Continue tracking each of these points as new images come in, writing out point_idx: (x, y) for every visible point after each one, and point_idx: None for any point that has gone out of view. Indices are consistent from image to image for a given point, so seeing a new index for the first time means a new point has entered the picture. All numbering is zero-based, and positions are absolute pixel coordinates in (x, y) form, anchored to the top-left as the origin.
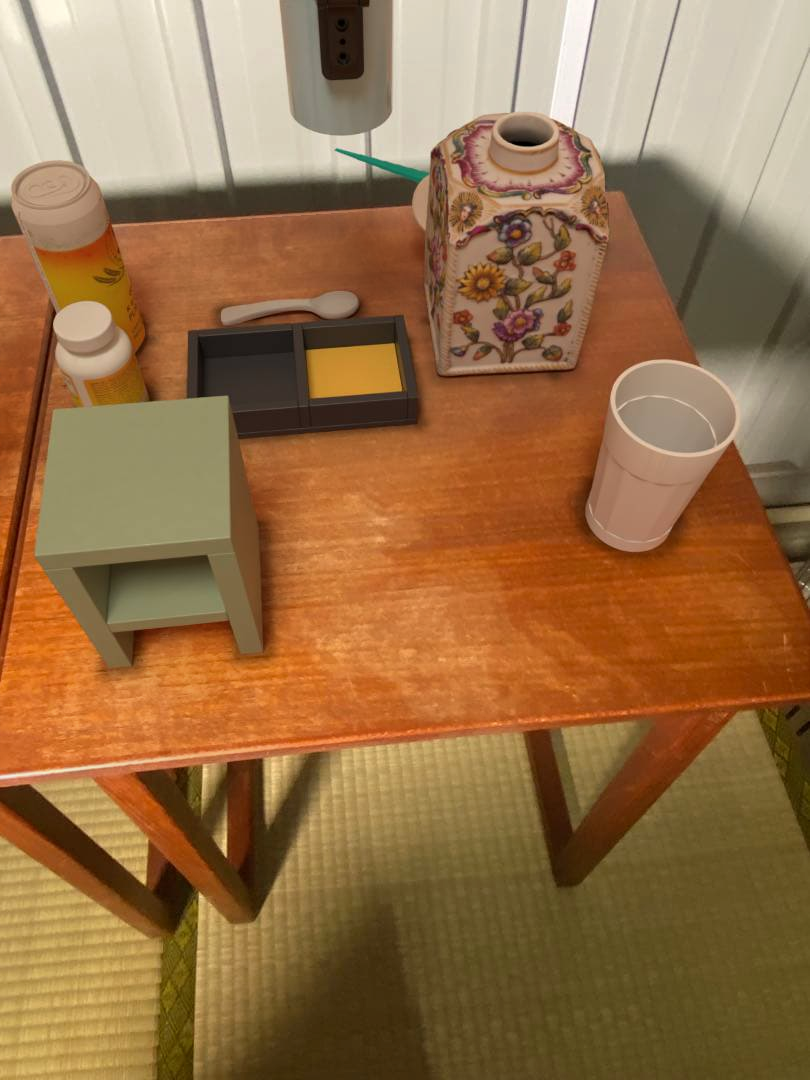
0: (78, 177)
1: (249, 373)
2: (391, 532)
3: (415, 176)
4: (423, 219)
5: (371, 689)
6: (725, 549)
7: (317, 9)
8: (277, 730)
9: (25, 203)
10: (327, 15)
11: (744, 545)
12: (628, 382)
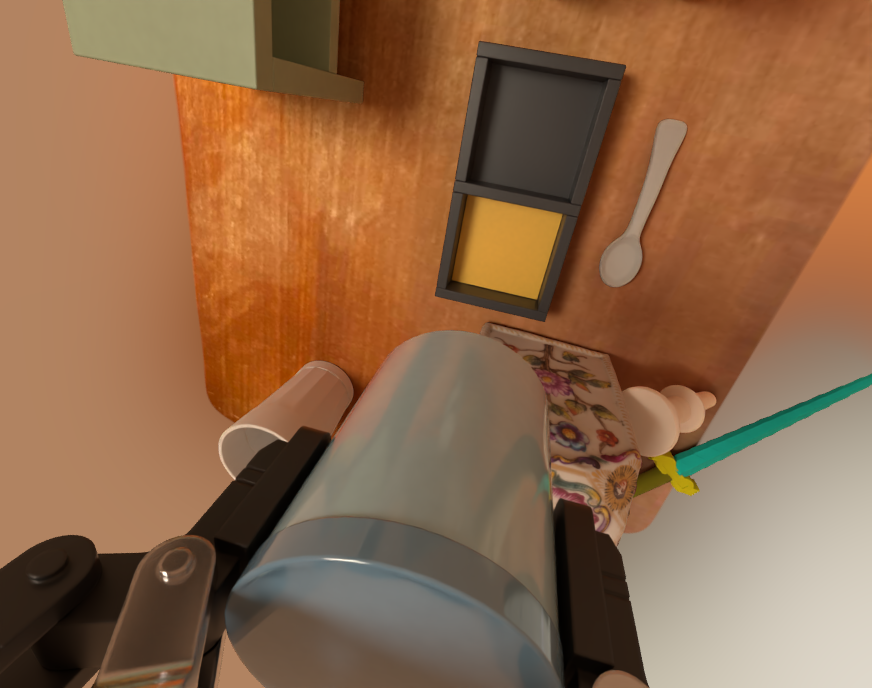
0: None
1: (556, 137)
2: (338, 224)
3: (787, 413)
4: (638, 394)
5: (212, 165)
6: None
7: (243, 524)
8: (182, 79)
9: None
10: (189, 531)
11: None
12: None
